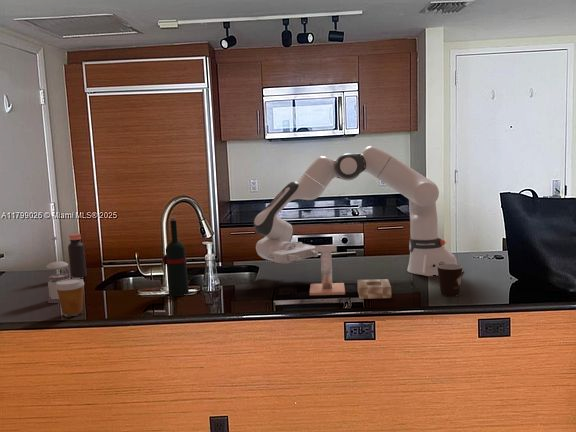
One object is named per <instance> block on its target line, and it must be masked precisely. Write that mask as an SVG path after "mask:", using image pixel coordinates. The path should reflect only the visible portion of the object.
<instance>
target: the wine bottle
mask: <svg viewBox="0 0 576 432" xmlns="http://www.w3.org/2000/svg"><path fill="white" fill-rule="evenodd" d="M170 232H171V233H170V234H171V242H169V243H168V244H167V245H166V247H165V254H164V255H163V256H162V263H163V279H162V282H161V283H164V281H165V278H166V277H167V286H168V288H167V289H168V296H169V295H171V296H170V297H181V296H180V295H183V296H185V295H184V294H187V293H188V292H189V293H190V291H189V280H188V279H189V277H188V267H187V265H188V263H187V255H186V252H187V251H186V246H185V245H184V244H183V243H182V242H181V241H179V239H178V225H177V220H176V216H171V217H170ZM166 273H167V275H166ZM189 293H188V294H189ZM188 294H187V295H188Z"/></svg>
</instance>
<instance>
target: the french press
mask: <svg viewBox="0 0 576 432" xmlns="http://www.w3.org/2000/svg"><path fill="white" fill-rule="evenodd" d="M51 240H52V241H53V242H54V244H56V240H58V237H56V236H52V237H51ZM54 249H55V252H54V253H57V245H54ZM55 259H56V260H55V261H54V262H50V263H48V264H47V265H46V266H45V269H46V270H47V269H48V270H57V272H59V269H60V270H61V271H64V273H56V274H51V275H49V276H48V280H47V286H48V287H47V288H48V296H49V299H50V297H51V299H59V296H58V292H57V289H56V288H55V286H56V283H57V282H58V281H61V280H65V279H71V272H70V268H69V267H68V266H70V263H68V262H65V261H60V260H59V261H58V258H57V255H55ZM66 268H67V270H68V273H67V271H66ZM68 276H69V277H68Z"/></svg>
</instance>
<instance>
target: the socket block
mask: <svg viewBox="0 0 576 432" xmlns="http://www.w3.org/2000/svg"><path fill="white" fill-rule="evenodd" d="M357 293H358V297H359V299H360V300H361V299H363V300H364V299H366V300H368V299H369V300H370V299H392V286H391V284H390V280H389V279H388V278H385V279H384V278H382V279H357Z"/></svg>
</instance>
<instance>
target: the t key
mask: <svg viewBox="0 0 576 432" xmlns="http://www.w3.org/2000/svg"><path fill="white" fill-rule="evenodd" d="M314 246H315V252H318V253H320V267H321V268H320V271H321V273H320V274H321V283H322V288H323V289H331V288H333V286H332V283H333V264H332V263H333V261H332V253H333V252H335V253H336V252H338V251H337V249H338V248H337V245H336V244H335V245H334V244H333V245H332V244H331V245H314Z"/></svg>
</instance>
